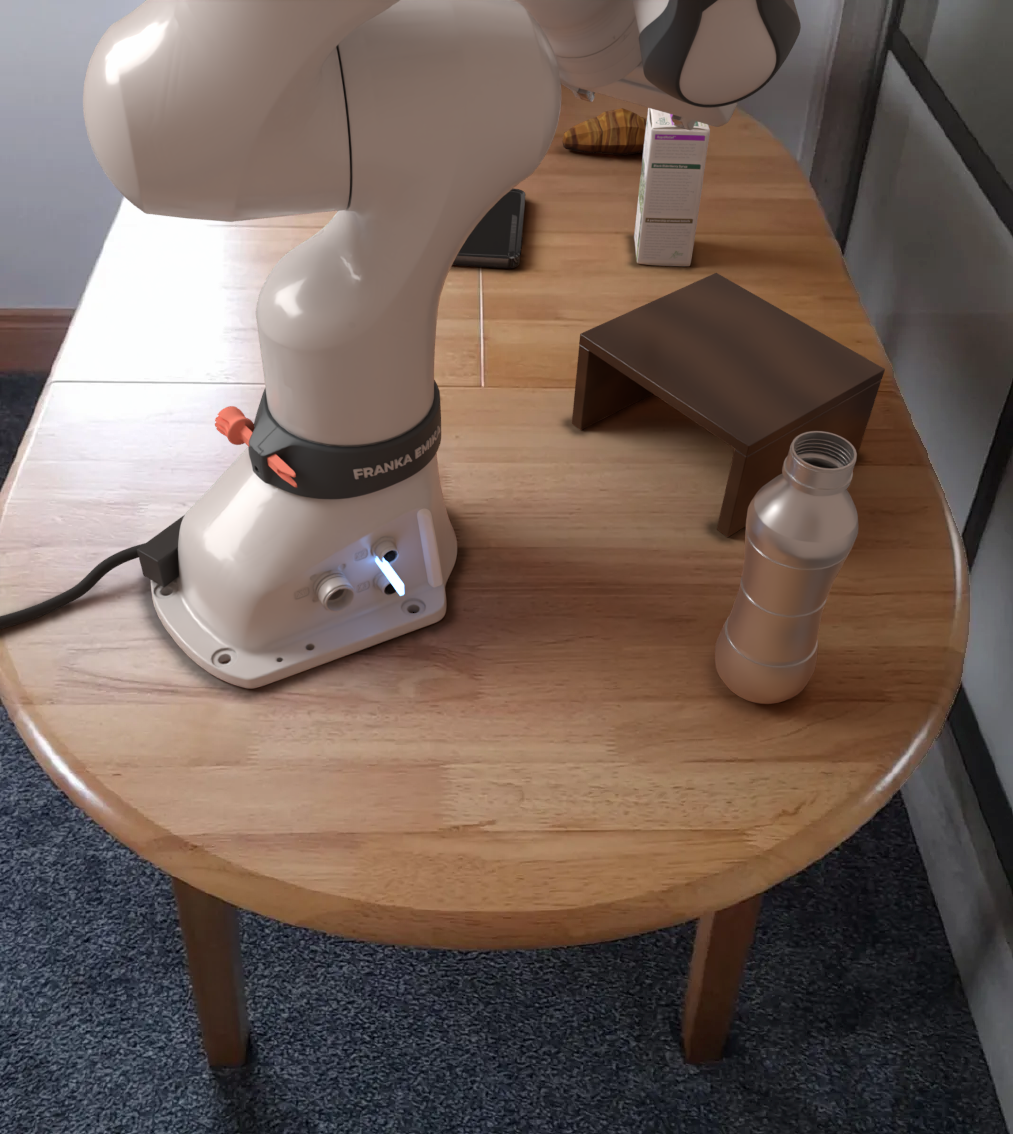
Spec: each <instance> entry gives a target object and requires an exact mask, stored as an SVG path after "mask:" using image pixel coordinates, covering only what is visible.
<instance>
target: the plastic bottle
mask: <svg viewBox="0 0 1013 1134" xmlns="http://www.w3.org/2000/svg"><path fill="white" fill-rule="evenodd" d="M856 457H857V458H858V455H857V453H856V450H855V448H854V446H853V445H852V444H851V443H850V442H849V441H847V440H846V439H844V438H843V437H841V436H838V435H836V434H833V433H829V432H823V431H810V432H805V433H802V434H800V435H798V436H797V437H796V438H795V439H794V440H793V442H792V443H791V446H790V449H789V453H788V456H787V457H786V458H785V461H784V464H783V467H782V474H780V475H778V476H777V477H775V478H774V479H772V480H771V481H770V482H768V483H767V484H765V485H764V486H763V487H761V489H760V490H759V491H758V492H757V493H756V495H755V496H754V498H753V499H752V501H751V503H750V505H749V507H748V512H747V519H746V526H745V532H744V533H745V535H744V558H743V564H742V570H741V576H740V583H739V588H738V591H737V594H736V596H735V599H734V601H733V605H732V607H731V610H730V613H729V615H728V617H726V619H725V622H724V623H723V625H722V627H721V630H720V632H719V635H718V637H717V639H716V641H715V645H714V646H715V647H714V657H715V658H714V663H715V670H716V672H717V675H718V677H719V678H720V680H721V681H722V682H723V684H724V685H725V686H726V687H727V688H728V689H729V690H730V691H731V692H732V693H733V694H735V695H736V696H737V697H739V698H741V699H743V700H746V701H748V702H751V703H754V704H755V703H756V704H761V705H773V704H779V703H781V702H785V701H789V700H791V699H793V698H794V697H796V696H797V695H799V694H800V693H801V692H803V690H804V689H805V687H806V686H807V685H808V683H809V681H810V680H811V678H812V676H813V675H814V673H815V670H816V668H817V661H818V660H817V659H818V651H819V634H820V633H819V632H820V627H821V623H822V618H823V612H824V608H825V605H826V603H827V600H828V597H829V595H830V592H831V590H832V587H833V585H834V583H835V580H836V579H837V576H838V574H839V573H840V571H841V569H842V567H843V566H844V564H845V562H846V560H847V558H848V556H849V555H850V552H851V551H852V550H853V547H854V545H855V543H856V540H857V537H858V534H859V515H858V511H857V507H856V505H855V502H854V500H853V498H852V496H851V494H850V492H849V491H848V489H849V487H850V485H851V483H852V481H853V477H854V472H853V471H854V468H855V465H856V462H857V458H856Z"/></svg>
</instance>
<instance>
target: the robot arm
mask: <svg viewBox="0 0 1013 1134" xmlns="http://www.w3.org/2000/svg"><path fill="white" fill-rule="evenodd" d="M797 9H798V8H797V6H796V3H795V0H145V1H143V2H142V3H141V4H139V5H138V6H137V7H136V8H134V9H133V10H132V11H131V12H129V13H128V14H126V15H124V16H123V17H121V18H119V19H118V20H117V21H115V22H113V23H111V25H109V27H108V28H107V29H106V30H105V32H104V33H102V36H101V38H100V39H99V41H98V42H97V44H96V46H95V47H94V50H93V52H92V54H91V56H90V58H89V62H88V65H87V67H86V72H85V77H84V82H83V91H82V110H83V111H82V113H83V119H84V125H85V130H86V134H87V138H88V141H89V143H90V146H91V150H92V153H93V155H94V156H95V158H96V160H97V163H98V164H99V166H100V168H101V169H102V171H103V173H104V174H105V176H106V177H107V179H108V180H109V181H110V183H111V184H112V186H114V187H115V189H116V190H117V191H118V192H119V194H120V195H122V197H124V198H125V199H126V200H127V201H129V203H131V204H132V205H133V206H134V207H136V208H137V209H138V210H140V211H141V212H143V213H144V214H146V215H153V216H154V215H155V216H161V217H162V216H163V217H169V218H171V217H172V218H180V219H188V220H189V219H190V220H200V221H201V220H203V221H214V222H226V223H233V222H235V223H236V222H243V221H251V220H252V221H253V220H262V219H263V220H264V219H272V218H281V217H290V216H299V215H300V216H301V215H302V216H303V215H311V214H321V213H331V212H336V213H335V214H334V215H333V217H332V218H331V219H330V220H329V221H328V222H327V223H326V224H325V225H324V226H323V227H322V228H320V229H319V230H318V231H317V232H316V233H315V234H313V235H311V236H309V238H306V239H305V240H304V241H303V242H301V243H299V244H298V245H296V246H294V247H293V248H292V249H291V250H288V251H287V252H286V253H285V254H284V255H283V256H282V257H280V259H279V260H278V261H277V262H276V263H275V265H273V268H272V269H271V270H270V272H269V273H268V275H267V277H266V279H265V281H264V283H263V284H262V287H261V289H260V291H259V293H258V297H257V301H256V307H255V319H256V320H255V321H256V329H257V335H258V343H259V350H260V359H261V367H262V372H263V379H264V380H263V381H264V389H263V392H262V394H261V398H260V401H259V404H258V408H257V410H256V414H255V418H254V422H253V420H251V418H248V417H246V415H245V414H244V413H243V411H242V410H241V409H240V408H238V406H234V405H229V406H226V407H224V408H222V409H221V410H220V411H219V412H218V413H217V416H216V417H215V419H214V422H215V423H214V426H215V430H216V431H217V432H219V433H220V434H221V435H223V436H225V437H226V438H227V440H228V442H229V443H230V444H232V445H233V446H240V445H244V444H245V445H246V446H248V447H246V449H244V450H243V452H241V454H239V456H238V457H237V458H236V459H235V460H234V461H233V462H232V463H231V464H230V466H228V468H226V470H225V471H224V472H223V473H222V474H221V475H220V477H219V478H217V479H216V481H215V482H214V483H213V484H212V485H211V486H210V487H209V488H208V489H207V490H206V491H205V492H204V494H202V496H201V497H200V498H198V500H196V502H194V504H193V505H192V506H190V508H189V509H187V511H186V512H185V514H184V515H182V516H181V517H180V518H178V519H177V520H175V521H174V522H173V523H171V524H170V525H168V526H167V527H165V528H164V529H163V530H162V531H160V532H159V533H158V534H156V535H155V536H153V537H152V538H150V539H149V540H148V541H146V542H144V543H140V544H137V545H134V546H131V547H128V548H125V549H123V550H121V551H118V552H116V553H114V554H112V555H109V556H108V557H107V558H105V559H104V560H102V561H101V562H99V563H98V564H97V565H96V566H94V568H93V569H91V571H89V573H88V574H87V575H85V577H83V578H82V579H81V581H79V582H78V583H77V584H75V585H74V586H73V587H70V588H69V589H67V590H65V591H63V592H61V593H60V594H57V595H55V596H53V597H52V598H48V599H47V600H45V601H43V602H40V603H38V604H34V605H32V606H29V607H27V608H24V609H21V610H18V611H14V612H11V613H6V614H4V615H0V630H2V629H5V628H9V627H13V626H16V625H20V624H22V623H26V622H29V621H31V620H34V619H35V620H36V619H38V618H40V617H42V616H44V615H47V614H50V613H52V612H54V611H57V610H58V609H60V608H63V607H64V606H67V605H68V604H71V603H72V602H75V601H76V600H79V599H80V598H81V597H83V596H84V595H85V594H87V593H88V592H89V591H90V590H91V589H92V588H94V586H95V585H96V584H98V582H99V581H100V580H101V579H103V578H104V577H105V576H106V575H107V574H108V573H109V572H110V571H112V570H113V569H115V568H117V567H118V566H121V565H123V564H125V563H127V562H130V561H132V560H136V559H139V563H140V564H139V565H140V567H141V571H142V576H144V577H146V578H147V579H148V580H150V591H151V600H152V603H153V609H154V610H155V612H156V615H157V617H158V619H159V621H160V623H161V624H162V626H163V627H164V629H165V630H166V632H167V633H168V635H169V636H170V637H171V638H172V640H173V642H174V643H176V645H177V646H178V647H179V648H180V649H181V650H182V652H184V653H185V655H186V656H188V657H189V659H191V660H192V661H193V662H194V663H195V664H196V665H197V666H199V667H200V668H201V669H203V670H204V671H205V672H207V673H208V674H210V675H212V676H213V677H215V678H217V679H219V680H221V681H224V682H226V683H228V684H231V685H234V686H236V687H240V688H244V689H248V690H249V689H250V690H252V689H258V688H261V687H264V686H267V685H270V684H273V683H275V682H278V681H280V680H284V679H286V678H289V677H292V676H294V675H297V674H300V673H302V672H303V673H304V672H306V671H308V670H311V669H314V668H316V667H319V666H322V665H324V664H327V663H330V662H332V661H335V660H338V659H340V658H341V659H342V658H344V657H346V656H349V655H351V654H355V653H357V652H361V651H362V650H366V649H368V648H371V647H373V646H376V645H378V644H381V643H384V642H388V641H390V640H392V639H396V638H398V637H400V636H403V635H405V634H409V633H411V632H414V631H417V630H419V629H422V628H425V627H428V626H430V625H433V624H436V623H438V622H440V621H441V620H442V619H443V618H444V617H445V615H446V613H447V606H448V605H447V594H446V586H447V582H448V579H449V578H450V575H451V574H452V571H453V569H454V567H455V564H456V561H457V555H458V540H457V535H456V531H455V530H454V527H453V525H452V523H451V521H450V517H449V514H448V511H447V507H446V504H445V500H444V499H445V498H444V495H443V490H442V484H441V478H440V471H439V463H438V450H439V448H440V445H441V442H442V408H441V394H440V393H441V392H440V387H439V385H438V383H437V381H436V379H435V355H436V354H435V353H436V351H435V350H436V337H437V336H436V335H437V324H438V316H439V315H438V314H439V306H440V300H441V295H442V292H443V289H444V286H445V284H446V283H445V282H446V280H447V278H448V275H449V272H450V270H451V269H452V266H453V265H452V264H453V262H454V260H455V258H456V256H457V254H458V252H459V251H460V249H461V248H462V246H463V244H464V243H465V241H466V239H467V238H468V236H469V235H470V234H471V232H472V231H473V230H474V228H475V227H476V225H477V224H478V223H479V222H480V221H481V219H482V218H483V217H484V216H485V215H486V213H487V212H488V211H489V210H490V209H491V208H492V207H493V206H494V205H495V204H496V203H497V202H498V201H499V200H500V199H501V198H502V197H503V196H504V195H506V194H507V193H508V192H509V191H510V190H512V189H515V187H517V186H518V185H520V184H521V183H522V182H524V181H525V180H526V179H528V178H529V177H530V176H532V175H533V174H534V172H535V171H536V170H537V169H538V167H539V166H540V165H541V164H542V162H543V160H544V158H545V157H546V156H547V153H548V152H549V149H550V147H551V146H552V143H553V141H554V138H555V135H556V132H557V129H558V125H559V121H560V117H561V111H562V110H561V109H562V86H564V87H565V88H567V89H568V90H569V91H571V92H572V94H573V96H574V97H575V98H576V99H579V100H582V101H585V102H589V103H592V102H593V101H594V100H595V95H596V94H599V95H602V96H605V97H609V98H613V99H616V100H621V101H623V102H626V103H630V104H633V105H637V106H641V107H644V108H647V109H648V108H651V109H655V110H658V111H662V112H665V113H669V114H672V118H671V119H672V121H673V123H674V126H677V127H680V128H683V129H687V130H692V129H693V126H694V124H695V122H696V121H697V122H701V123H704V124H708V125H709V126H711V127H715V128H719V127H722V126H725V125H726V124H728V123H729V121H731V119H732V117H733V114H734V113H735V110H736V108H737V106H738V104H739V102H741V101H743V100H745V99H748V98H750V97H751V96H753V95H754V94H756V93H757V92H759V91H760V90H762V89H763V88H764V87H765V86H766V85H767V84H768V83H769V82H770V81H771V80H772V79H773V78H774V77H775V75H776V74H777V73H778V71H779V70H780V69H781V67H782V66H783V65H784V63H785V61H786V60H787V58H788V56H789V55H790V52H791V51H792V50H793V48H794V46H795V44H796V42H797V40H798V37H799V35H800V32H801V27H802V26H801V19H800V16H799V13H798V10H797ZM413 612H414V613H413Z"/></svg>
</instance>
